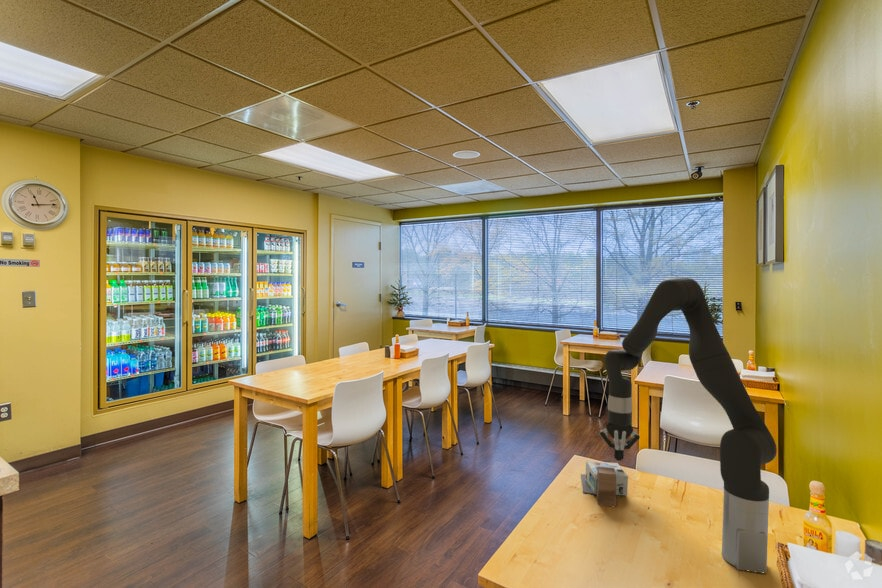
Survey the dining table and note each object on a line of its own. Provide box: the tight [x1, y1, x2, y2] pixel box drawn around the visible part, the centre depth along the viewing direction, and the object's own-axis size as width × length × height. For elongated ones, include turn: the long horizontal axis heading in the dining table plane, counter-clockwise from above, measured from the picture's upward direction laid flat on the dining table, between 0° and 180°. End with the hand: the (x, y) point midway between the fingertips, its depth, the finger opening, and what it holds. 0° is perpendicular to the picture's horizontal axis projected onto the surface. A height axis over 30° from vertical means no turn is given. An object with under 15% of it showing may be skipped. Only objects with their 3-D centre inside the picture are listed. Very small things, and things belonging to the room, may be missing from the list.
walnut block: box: [596, 466, 617, 507], centre depth 138 cm, size 5×5×10 cm
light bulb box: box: [585, 461, 629, 496], centre depth 146 cm, size 11×7×11 cm
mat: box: [580, 473, 620, 498], centre depth 149 cm, size 14×11×1 cm
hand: (618, 460), depth 147 cm, fingers closed
